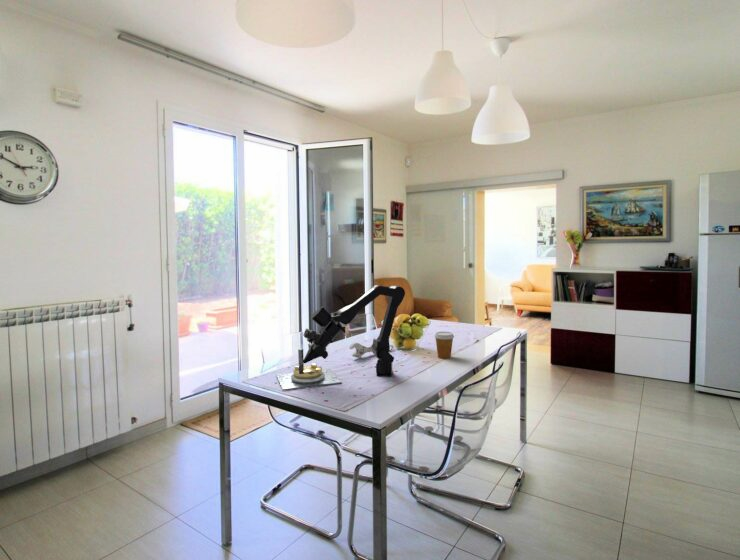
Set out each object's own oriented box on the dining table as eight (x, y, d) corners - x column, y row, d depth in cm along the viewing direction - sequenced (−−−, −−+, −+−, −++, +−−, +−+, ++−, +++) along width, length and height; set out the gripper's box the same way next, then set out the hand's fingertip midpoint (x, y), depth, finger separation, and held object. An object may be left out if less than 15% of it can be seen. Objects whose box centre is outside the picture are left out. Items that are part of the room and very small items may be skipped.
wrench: (393, 355, 231) (350, 359, 210) (390, 354, 232) (348, 359, 212) (394, 340, 231) (352, 343, 210) (391, 339, 232) (349, 342, 212)
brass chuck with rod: (327, 375, 181) (326, 347, 179) (301, 381, 173) (301, 351, 172) (313, 368, 190) (312, 342, 189) (288, 374, 183) (287, 346, 182)
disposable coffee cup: (448, 353, 220) (448, 330, 219) (457, 358, 211) (457, 334, 210) (431, 355, 218) (431, 332, 217) (439, 360, 209) (439, 336, 208)
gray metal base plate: (330, 370, 195) (329, 365, 195) (341, 383, 176) (341, 378, 176) (276, 376, 187) (276, 371, 187) (282, 390, 169) (282, 385, 168)
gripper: (310, 317, 186) (286, 345, 184) (318, 326, 169) (291, 356, 166) (329, 333, 189) (305, 361, 187) (339, 343, 172) (312, 373, 170)
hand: (303, 362), depth 178 cm, fingers closed
